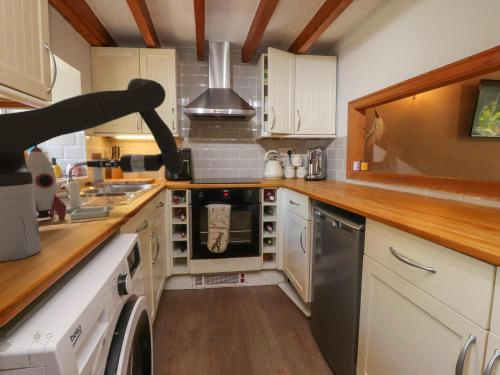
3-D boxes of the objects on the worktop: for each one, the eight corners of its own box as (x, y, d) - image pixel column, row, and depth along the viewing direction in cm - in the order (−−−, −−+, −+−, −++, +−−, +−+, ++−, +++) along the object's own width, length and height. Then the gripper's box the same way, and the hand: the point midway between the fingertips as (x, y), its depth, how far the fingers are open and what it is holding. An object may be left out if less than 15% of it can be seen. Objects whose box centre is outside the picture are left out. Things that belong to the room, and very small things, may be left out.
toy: (29, 230, 88) (17, 136, 84) (20, 225, 94) (8, 138, 90) (68, 223, 97) (59, 137, 93) (57, 219, 103) (48, 139, 99)
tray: (106, 220, 100) (105, 211, 100) (71, 223, 96) (70, 214, 95) (108, 214, 110) (107, 206, 110) (76, 217, 106) (75, 208, 105)
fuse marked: (103, 182, 110) (101, 152, 109) (92, 183, 109) (90, 152, 107) (104, 181, 113) (101, 152, 112) (93, 182, 112) (91, 153, 110)
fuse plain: (80, 212, 108) (77, 182, 106) (69, 213, 106) (66, 182, 105) (82, 210, 111) (79, 181, 110) (71, 211, 110) (68, 181, 108)
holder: (113, 213, 111) (112, 206, 111) (32, 221, 100) (31, 213, 100) (114, 210, 118) (113, 203, 117) (38, 217, 107) (37, 209, 106)
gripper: (137, 154, 119) (95, 154, 116) (128, 154, 105) (80, 154, 102) (138, 171, 120) (97, 172, 117) (130, 173, 106) (82, 174, 103)
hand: (89, 164), depth 110 cm, fingers closed on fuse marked, 3 cm apart
